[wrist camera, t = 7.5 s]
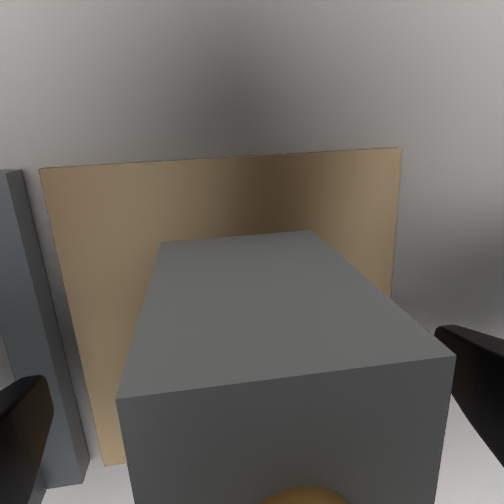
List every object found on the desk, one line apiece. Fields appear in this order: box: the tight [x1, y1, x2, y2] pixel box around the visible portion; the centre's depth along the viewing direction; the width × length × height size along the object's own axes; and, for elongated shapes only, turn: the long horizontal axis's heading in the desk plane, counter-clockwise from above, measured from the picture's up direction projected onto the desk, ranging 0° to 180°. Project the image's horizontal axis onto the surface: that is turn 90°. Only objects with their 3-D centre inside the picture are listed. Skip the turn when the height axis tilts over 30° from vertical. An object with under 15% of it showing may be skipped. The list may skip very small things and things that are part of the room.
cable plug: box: [115, 230, 457, 504], centre depth 7 cm, size 4×5×7 cm
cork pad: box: [38, 147, 402, 466], centre depth 11 cm, size 9×9×1 cm
